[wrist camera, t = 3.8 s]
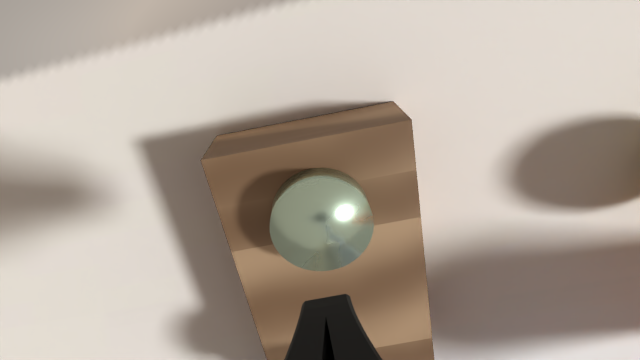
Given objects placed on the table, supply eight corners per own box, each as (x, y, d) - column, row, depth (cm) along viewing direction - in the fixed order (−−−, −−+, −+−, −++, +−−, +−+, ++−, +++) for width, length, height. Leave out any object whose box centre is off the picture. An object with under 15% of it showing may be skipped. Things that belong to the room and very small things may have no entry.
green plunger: (364, 212, 22) (379, 261, 17) (285, 227, 22) (282, 279, 18) (352, 137, 20) (366, 171, 16) (267, 153, 20) (258, 191, 16)
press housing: (421, 349, 26) (437, 396, 23) (289, 372, 27) (287, 422, 23) (393, 101, 20) (411, 119, 16) (217, 135, 20) (200, 160, 17)
